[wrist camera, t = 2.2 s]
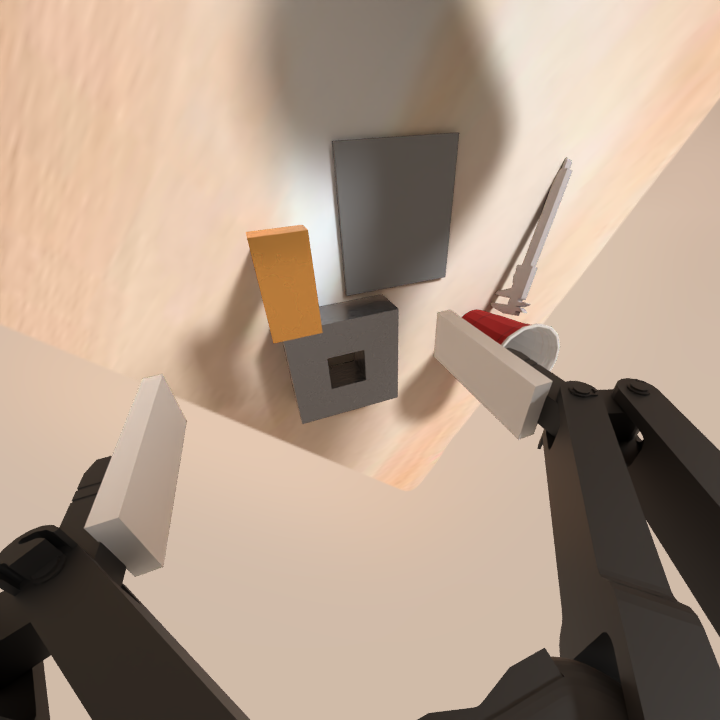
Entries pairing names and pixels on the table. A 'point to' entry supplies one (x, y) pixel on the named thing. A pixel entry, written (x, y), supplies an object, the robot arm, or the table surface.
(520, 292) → the caliper
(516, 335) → the plastic cup
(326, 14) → the table surface
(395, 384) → the block
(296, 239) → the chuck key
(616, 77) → the table surface
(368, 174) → the key mat
